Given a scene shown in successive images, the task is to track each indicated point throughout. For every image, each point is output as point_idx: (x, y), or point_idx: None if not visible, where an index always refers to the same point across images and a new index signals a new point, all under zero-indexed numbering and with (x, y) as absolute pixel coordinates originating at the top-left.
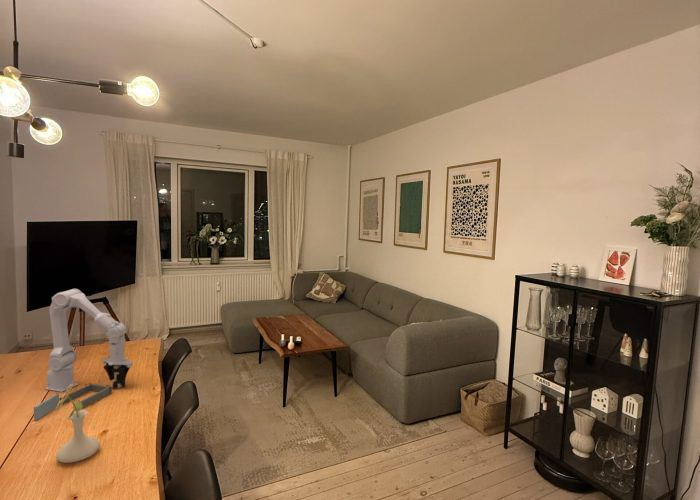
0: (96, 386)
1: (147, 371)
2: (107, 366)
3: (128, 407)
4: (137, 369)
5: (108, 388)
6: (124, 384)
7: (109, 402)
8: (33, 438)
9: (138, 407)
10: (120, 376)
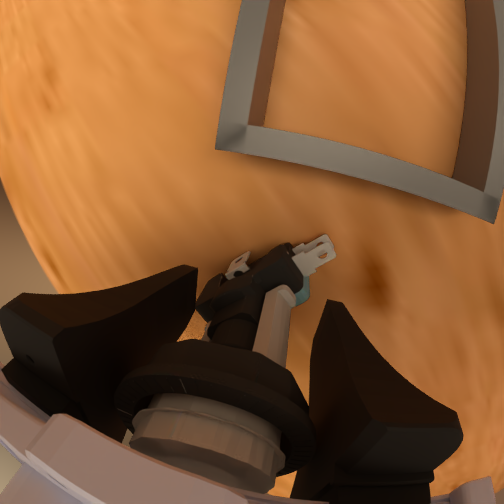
0: (415, 165)
1: None
2: (382, 452)
3: (41, 40)
4: None
5: (222, 106)
6: (206, 287)
7: (152, 22)
8: None
9: (14, 64)
10: (143, 284)
